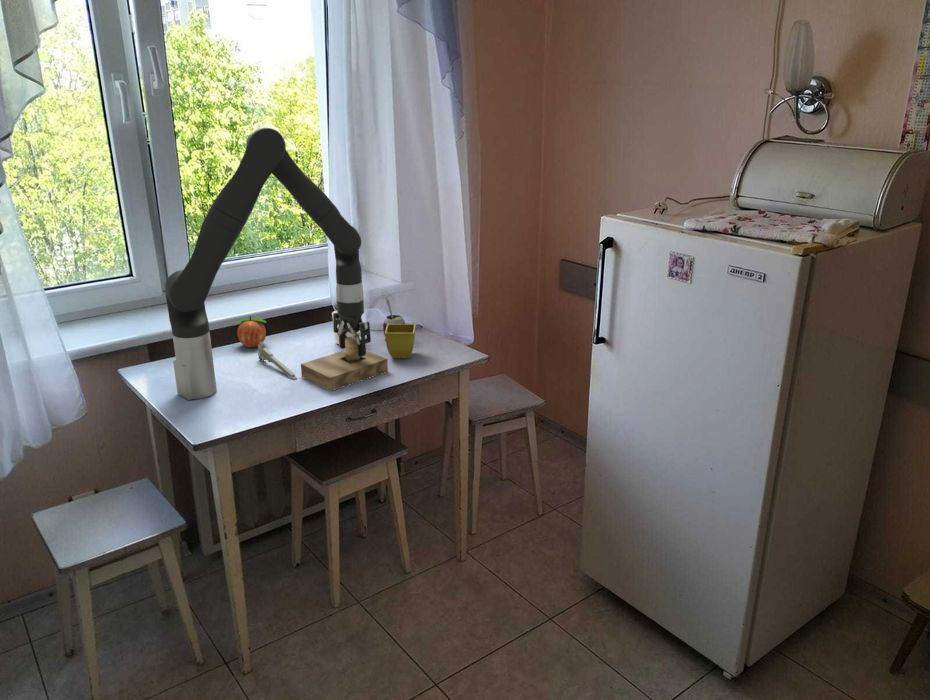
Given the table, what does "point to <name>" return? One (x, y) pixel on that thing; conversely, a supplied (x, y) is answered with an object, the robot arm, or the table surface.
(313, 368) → the board
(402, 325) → the flower pot
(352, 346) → the peg
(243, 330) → the fruit
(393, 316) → the mate gourd
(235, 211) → the robot arm
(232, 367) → the table surface
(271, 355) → the caliper
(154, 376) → the table surface
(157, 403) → the table surface
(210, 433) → the table surface
